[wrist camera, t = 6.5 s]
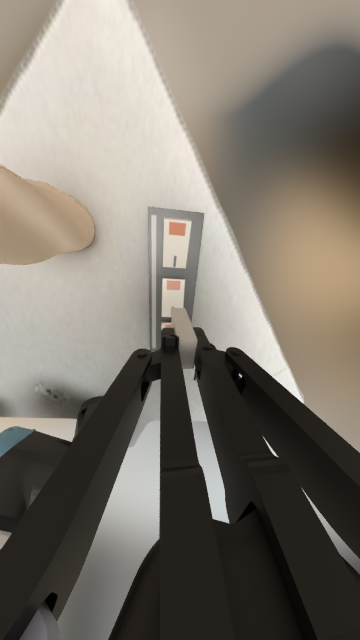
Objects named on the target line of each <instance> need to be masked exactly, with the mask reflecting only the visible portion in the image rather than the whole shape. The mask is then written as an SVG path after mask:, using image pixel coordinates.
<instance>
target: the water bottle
mask: <svg viewBox="0 0 360 640" xmlns="http://www.w3.org/2000/svg"><path fill="white" fill-rule="evenodd" d="M94 235H95V228H94V223H93V220H92V218H91V216H90V214H89V213H88V212H87V210H86V209H85V208H84V207H83V206H82V205H81V204H80V203H78V202H77V201H75V200H74V199H73V198H71V197H70V196H68V195H67V194H65V193H63V192H62V191H60V190H58V189H57V188H55V187H53V186H51V185H49V184H46V183H43V182H39V181H35V180H29V179H23V178H21V177H20V176H18V175H17V174H15V173H14V172H12V171H10V170H9V169H7V168H6V167H4V166H2V165H0V264H11V265H27V264H34V263H38V262H41V261H44V260H46V259H49V258H51V257H53V256H55V255H57V254H60V253H66V252H76V251H80V250H82V249H84V248H86V247H88V246H89V245H90V244H91V243H92V241H93V239H94Z"/></svg>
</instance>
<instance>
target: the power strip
mask: <svg viewBox="0 0 360 640" xmlns="http://www.w3.org/2000/svg"><path fill="white" fill-rule="evenodd" d="M164 217H168V218H178V219H187V220H191V221H192V223H191V231H190V239H189V247H188V254H187V262H186V268H172V267H163V238H164ZM203 220H204V213H199V212H190V211H181V210H172V209H163V208H155V207H148V233H149V304H150V351H157V350H159V349H160V348H161V322H171V319H172V317H162V280H163V278H166V279H183V280H185V288H184V303H183V308H185V309H186V311H187V314H188V317H189V319H190V322H191V319H192V311H193V303H194V294H195V286H196V278H197V269H198V261H199V253H200V245H201V236H202V228H203Z"/></svg>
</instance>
